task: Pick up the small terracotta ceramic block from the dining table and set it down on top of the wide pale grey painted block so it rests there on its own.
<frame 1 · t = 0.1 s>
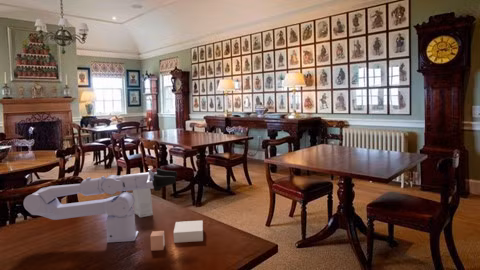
hand: (176, 177, 122), 22 cm above the table, tool horizontal, fingers open, 7 cm apart
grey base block: (189, 236, 123), on the table
terracotta block: (158, 247, 114), on the table
skincare box: (143, 214, 147), on the table
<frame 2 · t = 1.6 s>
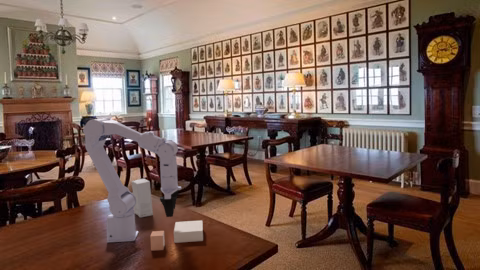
hand: (170, 212, 121), 9 cm above the table, tool pointing down, fingers open, 7 cm apart
nothing on the table moved.
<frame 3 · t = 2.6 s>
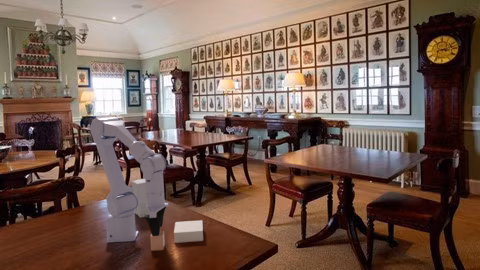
hand: (157, 230, 114), 6 cm above the table, tool pointing down, fingers open, 7 cm apart
nothing on the table moved.
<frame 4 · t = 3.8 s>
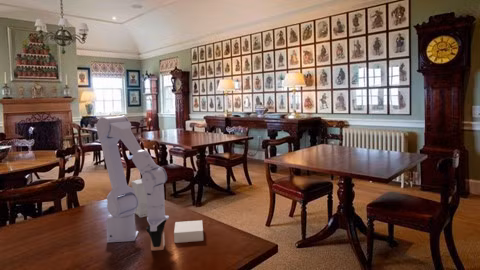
hand: (157, 243, 114), 1 cm above the table, tool pointing down, fingers closed on terracotta block, 4 cm apart
terracotta block: (158, 247, 114), on the table, touching gripper
everything else where it was.
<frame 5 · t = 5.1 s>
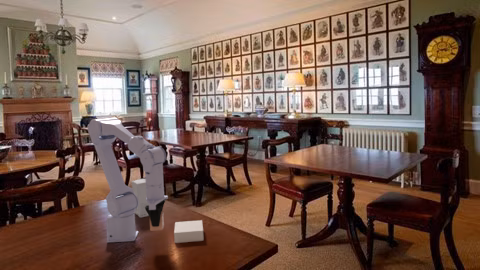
hand: (156, 223, 113), 8 cm above the table, tool pointing down, fingers closed on terracotta block, 4 cm apart
terracotta block: (157, 228, 114), point 7 cm above the table, touching gripper
everything else where it was.
when the fingers open (7 cm above the table, at t = 6.8 s): terracotta block drops 1 cm, resting on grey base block.
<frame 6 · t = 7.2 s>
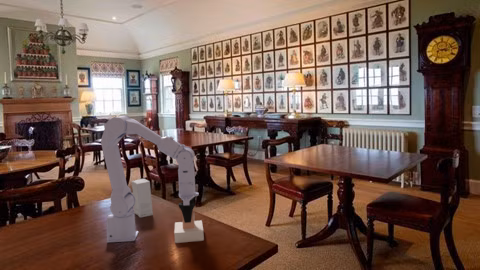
hand: (188, 218, 122), 7 cm above the table, tool pointing down, fingers open, 7 cm apart
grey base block: (189, 236, 123), on the table, touching terracotta block
terracotta block: (188, 226, 123), point 4 cm above the table, touching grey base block
everything else where it was.
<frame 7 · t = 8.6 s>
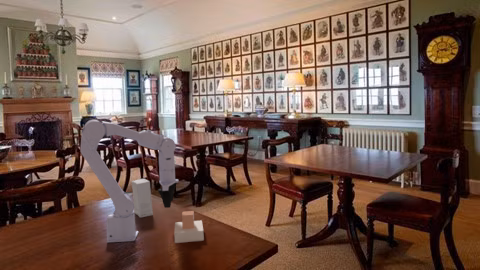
hand: (168, 204, 129), 10 cm above the table, tool pointing down, fingers open, 7 cm apart
nothing on the table moved.
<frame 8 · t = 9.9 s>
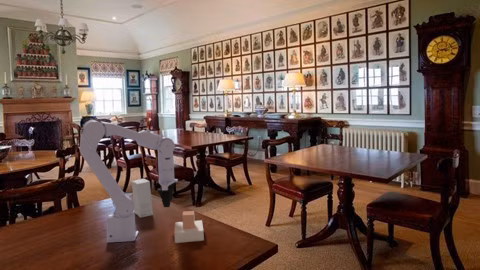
hand: (167, 203, 129), 10 cm above the table, tool pointing down, fingers open, 7 cm apart
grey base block: (189, 236, 123), on the table
terracotta block: (188, 226, 123), point 4 cm above the table
everything else where it was.
at the end: terracotta block 0.0 cm off-centre on the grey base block, point 4.0 cm above the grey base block's base; terracotta block tilted 0°; the gripper is holding nothing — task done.
